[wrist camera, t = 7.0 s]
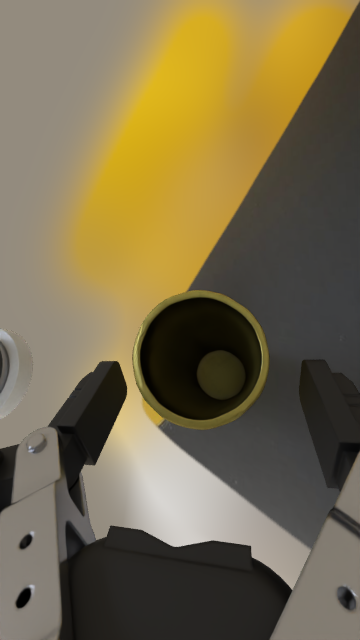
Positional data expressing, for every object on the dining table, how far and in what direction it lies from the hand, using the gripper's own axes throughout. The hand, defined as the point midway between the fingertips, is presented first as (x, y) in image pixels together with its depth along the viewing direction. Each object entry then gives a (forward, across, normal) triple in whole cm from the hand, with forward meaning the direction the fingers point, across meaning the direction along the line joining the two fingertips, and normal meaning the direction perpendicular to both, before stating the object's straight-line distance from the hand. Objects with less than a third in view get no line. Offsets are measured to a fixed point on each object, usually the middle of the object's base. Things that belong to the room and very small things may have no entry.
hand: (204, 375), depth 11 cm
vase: (+9, 0, +8) cm, 12 cm away
